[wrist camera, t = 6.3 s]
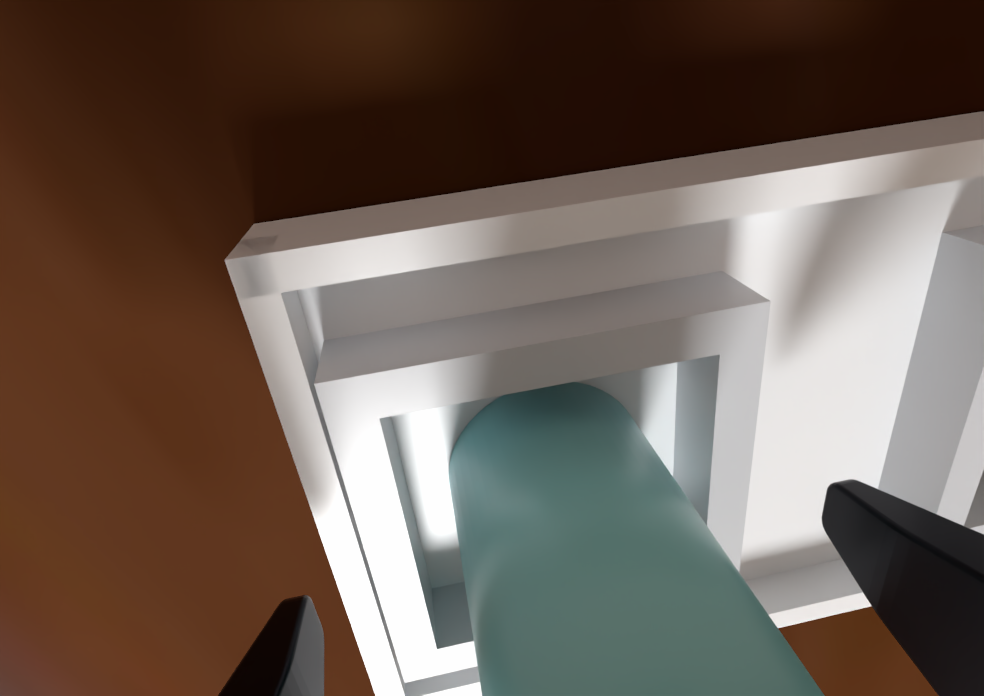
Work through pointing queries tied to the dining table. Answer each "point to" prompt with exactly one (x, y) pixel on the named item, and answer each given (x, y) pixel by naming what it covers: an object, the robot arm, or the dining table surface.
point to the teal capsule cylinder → (599, 562)
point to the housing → (635, 357)
